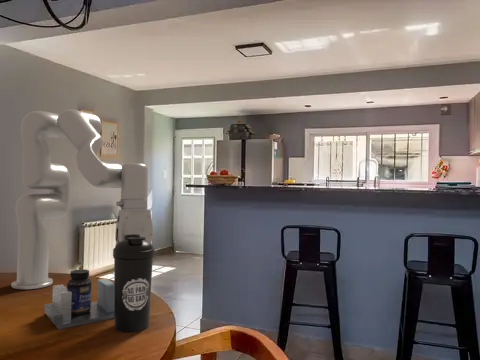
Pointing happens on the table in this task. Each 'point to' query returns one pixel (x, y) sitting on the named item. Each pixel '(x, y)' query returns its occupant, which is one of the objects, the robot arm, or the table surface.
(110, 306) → the sliding jaw
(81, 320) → the vise base
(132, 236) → the water bottle
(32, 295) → the table surface
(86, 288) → the pill bottle
